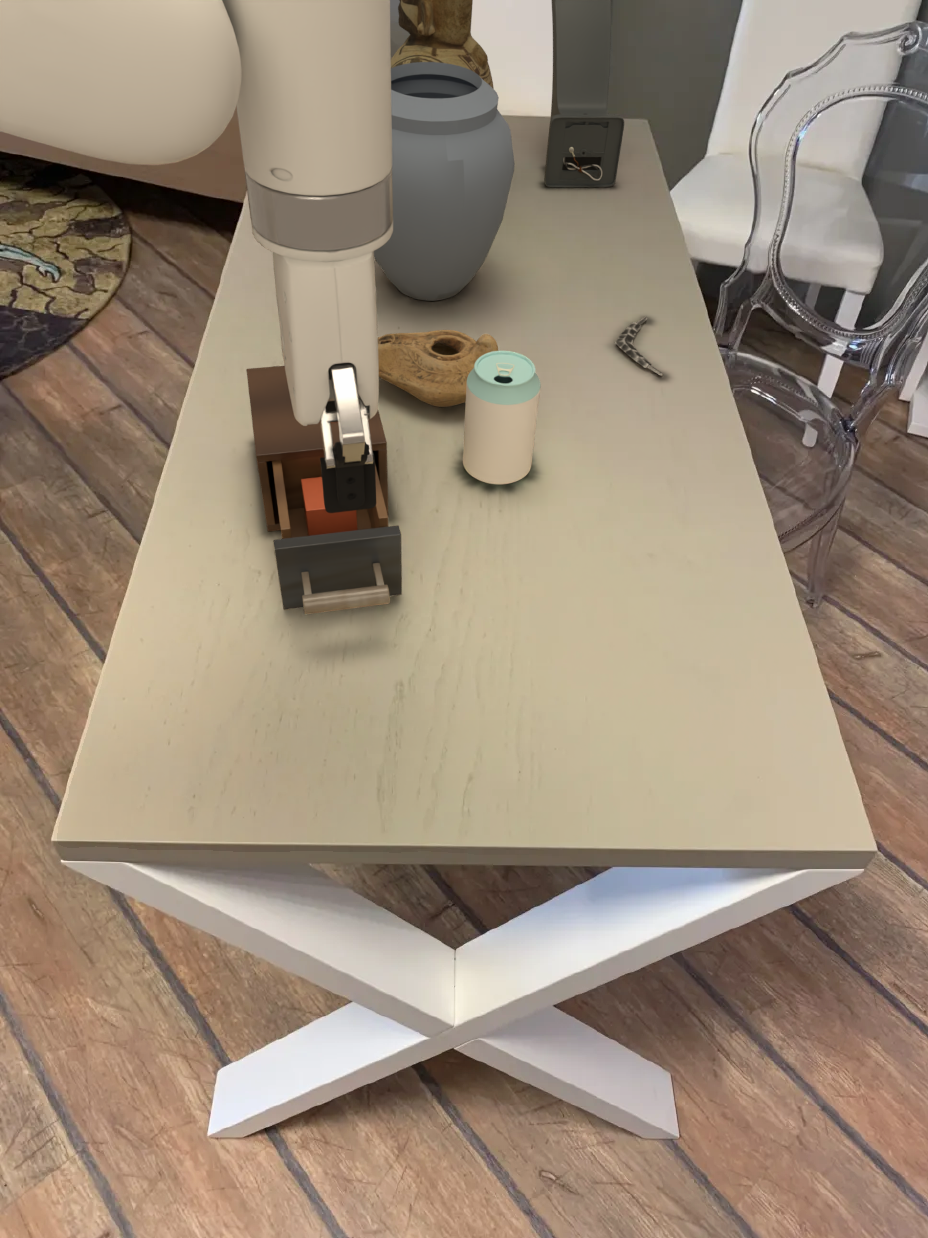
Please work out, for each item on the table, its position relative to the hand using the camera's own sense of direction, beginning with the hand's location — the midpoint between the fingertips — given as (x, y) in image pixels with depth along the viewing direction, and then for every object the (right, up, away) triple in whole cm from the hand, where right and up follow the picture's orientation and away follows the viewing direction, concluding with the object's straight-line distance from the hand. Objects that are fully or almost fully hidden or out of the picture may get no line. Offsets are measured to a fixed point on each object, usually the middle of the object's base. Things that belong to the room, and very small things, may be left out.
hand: (339, 459), depth 62 cm
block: (-4, -2, +25) cm, 25 cm away
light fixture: (+25, +61, +86) cm, 108 cm away
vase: (+4, +32, +59) cm, 67 cm away
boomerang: (+29, +22, +51) cm, 63 cm away
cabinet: (-6, +4, +33) cm, 33 cm away
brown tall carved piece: (+3, +56, +81) cm, 99 cm away
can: (+12, +5, +35) cm, 37 cm away
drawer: (-3, -6, +23) cm, 24 cm away
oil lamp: (+5, +15, +44) cm, 46 cm away
